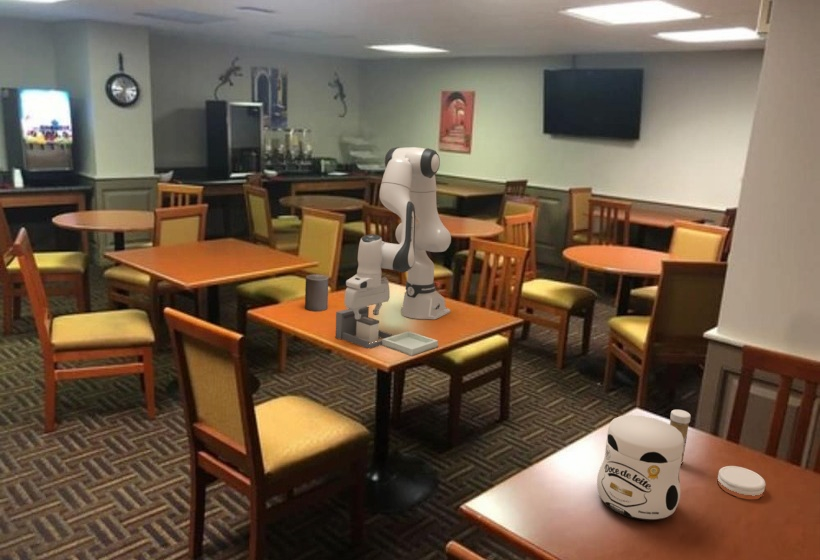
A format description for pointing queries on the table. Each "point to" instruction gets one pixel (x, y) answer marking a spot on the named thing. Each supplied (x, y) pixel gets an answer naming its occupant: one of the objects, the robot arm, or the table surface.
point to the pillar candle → (316, 292)
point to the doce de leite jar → (641, 468)
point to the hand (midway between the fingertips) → (366, 316)
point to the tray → (410, 343)
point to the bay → (354, 327)
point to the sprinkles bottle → (680, 424)
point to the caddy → (367, 329)
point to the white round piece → (741, 480)
